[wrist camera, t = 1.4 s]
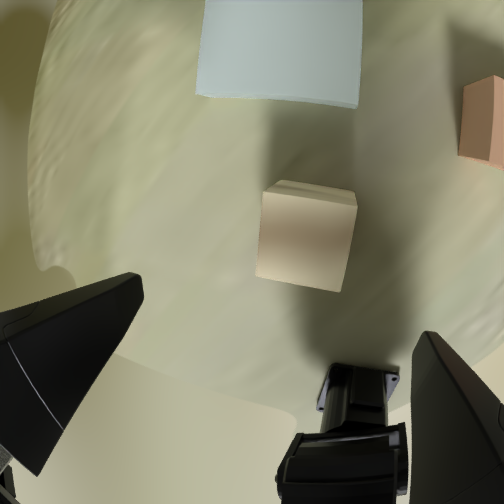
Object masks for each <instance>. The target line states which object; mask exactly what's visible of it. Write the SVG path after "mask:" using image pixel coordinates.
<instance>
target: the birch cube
mask: <svg viewBox="0 0 504 504" xmlns="http://www.w3.org/2000/svg"><path fill="white" fill-rule="evenodd" d="M357 208H358V205H357V201H356V197H355V193H354V191H350V190H344V189H339V188H333V187H327V186H321V185H314V184H308V183H301V182H295V181H288V180H280V181H278V182H277V183H275V184H274V185H272V186H271V187H269V188H268V189H266V190H265V191H263V199H262V210H261V221H260V232H259V243H258V254H257V265H256V276H257V277H262V278H267V279H272V280H277V281H282V282H287V283H292V284H297V285H302V286H307V287H312V288H318V289H323V290H328V291H333V292H339V293H340V292H341V287H342V283H343V279H344V274H345V270H346V265H347V261H348V256H349V251H350V246H351V241H352V236H353V231H354V225H355V220H356V214H357Z"/></svg>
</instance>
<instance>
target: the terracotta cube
mask: <svg viewBox="0 0 504 504" xmlns="http://www.w3.org/2000/svg"><path fill="white" fill-rule="evenodd" d="M458 156H462V157H465V158H468V159H471V160H474V161H477V162H480V163H483V164H486V165H489V166H492V167H495V168H497V169H500V170H503V171H504V79H502V78H500V77H498V76H495V75H492V76H490V77H487V78H484V79H482V80H479V81H477V82H474V83H472V84H469V85H467V86H464V87H463V109H462V123H461V134H460V143H459V151H458Z"/></svg>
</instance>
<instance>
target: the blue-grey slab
mask: <svg viewBox="0 0 504 504" xmlns="http://www.w3.org/2000/svg"><path fill="white" fill-rule="evenodd" d="M362 22H363V0H206V3H205V10H204V18H203V25H202V33H201V42H200V51H199V60H198V70H197V81H196V93H195V94H199V95H203V96H207V97H211V98H256V99H273V100H287V101H298V102H307V103H316V104H324V105H332V106H339V107H345V108H351V109H357V106H358V102H359V89H360V75H361V56H362Z"/></svg>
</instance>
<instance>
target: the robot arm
mask: <svg viewBox="0 0 504 504" xmlns="http://www.w3.org/2000/svg"><path fill="white" fill-rule="evenodd" d="M143 300H144V291H143V285H142V278H141V276H140V275H139V274H136V273H132V272H128V273H124V274H121V275H118V276H115V277H112V278H108V279H105V280H102V281H99V282H96V283H93V284H90V285H86V286H83V287H80V288H77V289H74V290H71V291H68V292H65V293H62V294H59V295H56V296H52V297H49V298H47V299H43V300H41V301H37V302H34V303H31V304H28V305H25V306H22V307H18V308H15V309H12V310H8V311H4V312H0V504H20V503H19V502H18V501H17V500H16V499H15V497H16V494H15V488H14V481H13V474H12V467H10V466H9V465H8V464H9V463H10V461H11V460H12V459H13V457H14V458H15V459H16V460H17V461H19V462H20V463H21V464H22V465H23V466H24V467H25V468H26V469H28V470H29V471H30V472H31V473H32V474H34V475H35V476H36V477H37V476H38V475H39V474H40V472H41V470H42V469H43V467H44V465H45V463H46V461H47V459H48V458H49V456H50V454H51V452H52V451H53V449H54V447H55V446H56V444H57V442H58V440H59V439H60V437H61V435H62V433H63V432H64V431H63V430H65V428H66V426H67V425H68V423H69V422H70V420H71V418H72V417H73V415H74V413H75V412H76V410H77V408H78V407H79V405H80V403H81V402H82V400H83V399H84V397H85V396H86V394H87V392H88V391H89V389H90V387H91V386H92V384H93V383H94V381H95V379H96V378H97V377H98V375H99V374H100V372H101V371H102V369H103V367H104V366H105V364H106V363H107V361H108V360H109V358H110V356H111V355H112V353H113V352H114V351H115V349H116V348H117V346H118V345H119V343H120V342H121V340H122V339H123V337H124V336H125V334H126V332H127V330H128V328H129V327H130V325H131V323H132V321H133V319H134V317H135V315H136V314H137V312H138V310H139V308H140V306H141V305H142V303H143ZM334 368H337V369H334ZM394 377H396V378H394ZM399 379H400V376H399V373H397V372H390V371H383V370H376V369H369V368H363V367H356V366H350V365H344V364H339V363H334V364H332V365H331V366H330V369H329V372H328V375H327V378H326V381H325V384H324V387H323V389H322V392H321V395H320V398H319V401H318V403H317V407H316V409H317V411H319V412H323V417H322V423H321V429H320V433H311V434H304V433H297V434H296V436H295V438H294V440H293V441H292V443H291V445H290V447H289V449H288V451H287V452H286V455H285V456H284V458H283V460H282V462H281V464H280V466H279V468H278V470H277V475H276V476H275V482H276V483H277V491H278V496H279V498H280V499H281V500H282V501H281V504H396V496H400V495H406V494H407V487H408V448H407V436H406V427H405V422H403V423H398V424H397V425H392V426H388V406H387V402H388V400H389V398H390V396H391V395H392V393H393V391H394V389H395V387H396V385H397V384H398V382H399ZM411 421H412V422H411V423H412V464H411V486H410V500H409V504H504V405H503V404H502V403H500V400H499V399H498V398H497V397H496V396H495V394H493V392H492V391H491V390H490V389H489V388H488V386H487V385H486V384H485V383H484V382H483V381H482V380H481V379H480V378H479V377H478V375H477V374H476V373H475V372H474V371H473V370H472V369H471V368H470V367H469V366H468V364H467V363H466V362H465V361H464V360H463V359H462V358H461V357H460V356H459V355H458V354H457V353H456V352H455V351H454V350H453V349H452V348H451V347H450V346H449V345H448V344H447V342H446V341H445V340H444V339H443V338H442V337H441V336H440V335H439V334H438V333H437V332H433V331H424V332H423V333H422V335H421V337H420V339H419V341H418V343H417V345H416V347H415V349H414V351H413V354H412V378H411Z"/></svg>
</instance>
